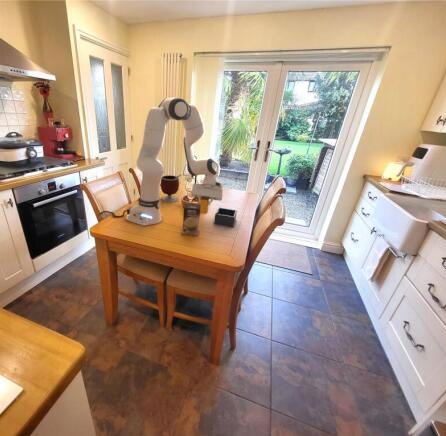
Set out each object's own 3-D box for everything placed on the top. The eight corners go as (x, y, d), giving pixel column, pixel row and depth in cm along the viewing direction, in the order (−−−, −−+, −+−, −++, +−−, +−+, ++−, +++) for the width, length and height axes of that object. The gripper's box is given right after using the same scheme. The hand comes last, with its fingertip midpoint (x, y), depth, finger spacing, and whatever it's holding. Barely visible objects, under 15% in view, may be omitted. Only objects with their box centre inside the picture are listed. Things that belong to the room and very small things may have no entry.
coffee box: (181, 234, 130) (183, 207, 123) (182, 229, 136) (184, 203, 129) (198, 235, 129) (200, 209, 123) (198, 230, 135) (200, 204, 128)
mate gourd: (157, 200, 176) (157, 174, 167) (164, 195, 188) (164, 170, 179) (177, 203, 172) (178, 177, 164) (182, 197, 184) (183, 172, 176)
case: (213, 224, 144) (215, 213, 141) (217, 216, 154) (218, 207, 151) (232, 227, 140) (234, 217, 137) (235, 219, 150) (237, 210, 147)
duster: (199, 213, 148) (200, 198, 144) (201, 210, 152) (202, 195, 148) (206, 214, 146) (207, 199, 142) (208, 211, 150) (209, 196, 146)
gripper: (193, 180, 151) (187, 199, 146) (224, 184, 145) (219, 204, 140) (194, 185, 156) (189, 203, 152) (225, 189, 150) (220, 208, 146)
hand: (204, 204), depth 146 cm, fingers closed on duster, 4 cm apart
